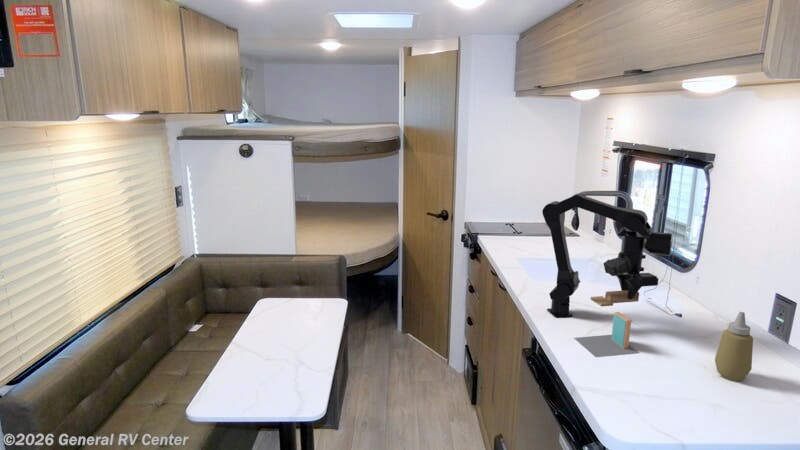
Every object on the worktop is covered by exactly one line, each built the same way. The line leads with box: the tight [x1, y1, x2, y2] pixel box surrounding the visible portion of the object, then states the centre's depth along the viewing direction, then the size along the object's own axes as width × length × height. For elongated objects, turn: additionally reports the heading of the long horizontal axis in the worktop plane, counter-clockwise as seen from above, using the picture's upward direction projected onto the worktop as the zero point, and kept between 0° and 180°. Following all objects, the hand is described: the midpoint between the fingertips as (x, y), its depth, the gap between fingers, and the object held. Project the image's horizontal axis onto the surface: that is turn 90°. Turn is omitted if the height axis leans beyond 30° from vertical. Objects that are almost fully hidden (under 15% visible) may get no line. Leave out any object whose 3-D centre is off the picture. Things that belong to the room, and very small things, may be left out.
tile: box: [611, 311, 632, 349], centre depth 139 cm, size 6×2×9 cm, turn 10°
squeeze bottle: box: [714, 311, 754, 382], centre depth 122 cm, size 8×8×18 cm
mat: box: [573, 334, 640, 358], centre depth 140 cm, size 12×14×1 cm
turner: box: [590, 290, 640, 307], centre depth 149 cm, size 6×14×3 cm, turn 100°
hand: (627, 297), depth 150 cm, fingers closed on turner, 3 cm apart
